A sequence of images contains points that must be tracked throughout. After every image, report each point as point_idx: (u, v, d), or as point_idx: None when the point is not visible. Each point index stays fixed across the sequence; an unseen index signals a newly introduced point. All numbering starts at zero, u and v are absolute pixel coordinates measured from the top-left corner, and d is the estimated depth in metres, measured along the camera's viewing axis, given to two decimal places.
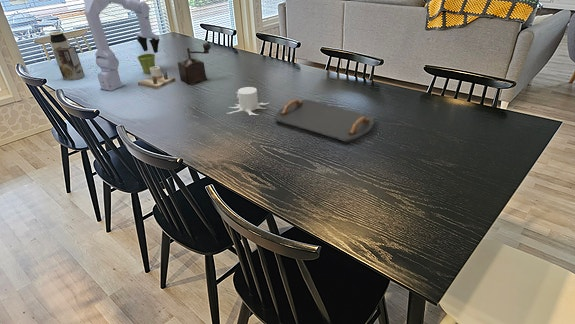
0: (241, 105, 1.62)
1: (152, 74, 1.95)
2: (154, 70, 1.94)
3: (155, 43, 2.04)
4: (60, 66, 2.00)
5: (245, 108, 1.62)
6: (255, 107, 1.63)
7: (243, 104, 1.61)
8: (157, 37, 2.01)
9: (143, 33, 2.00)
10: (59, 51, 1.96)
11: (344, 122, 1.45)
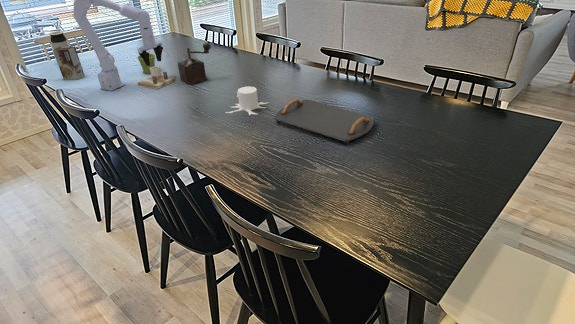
0: (241, 104, 1.63)
1: (152, 74, 1.95)
2: (154, 70, 1.94)
3: None
4: (60, 66, 2.00)
5: (245, 107, 1.63)
6: (255, 106, 1.64)
7: (243, 103, 1.62)
8: (139, 51, 1.84)
9: None
10: (59, 51, 1.96)
11: (344, 122, 1.45)
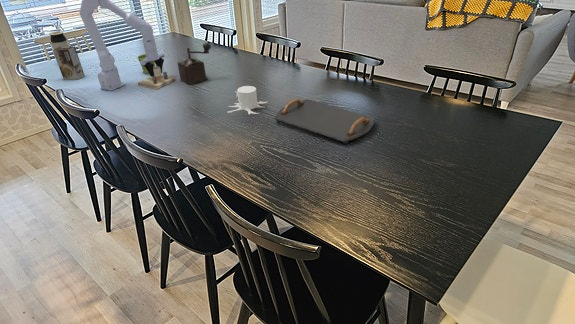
0: (240, 104, 1.63)
1: None
2: (154, 70, 1.94)
3: None
4: (60, 66, 2.00)
5: (244, 107, 1.63)
6: (254, 106, 1.64)
7: (242, 103, 1.62)
8: (142, 63, 1.87)
9: None
10: (59, 51, 1.96)
11: (344, 122, 1.45)
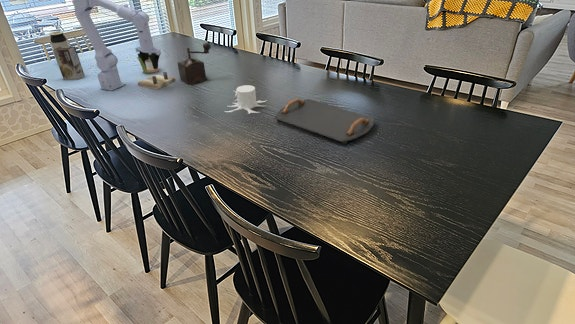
0: (240, 103, 1.64)
1: None
2: None
3: (155, 58, 1.82)
4: (60, 66, 2.00)
5: (244, 106, 1.64)
6: (254, 105, 1.65)
7: (242, 102, 1.63)
8: (159, 52, 1.79)
9: (143, 48, 1.78)
10: (59, 51, 1.96)
11: (343, 123, 1.44)
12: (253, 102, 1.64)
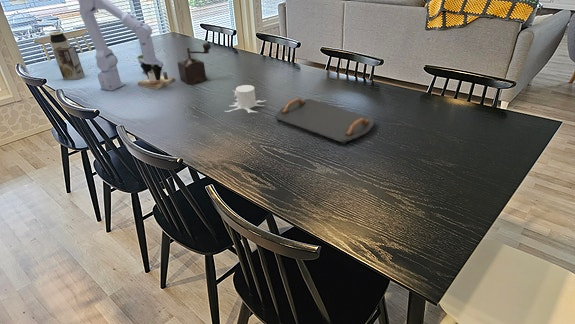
0: (239, 103, 1.64)
1: None
2: None
3: (157, 70, 1.85)
4: (60, 66, 2.00)
5: (243, 106, 1.64)
6: (253, 105, 1.66)
7: (241, 102, 1.63)
8: (161, 64, 1.82)
9: (146, 59, 1.81)
10: (59, 51, 1.96)
11: (343, 123, 1.44)
12: (252, 102, 1.65)
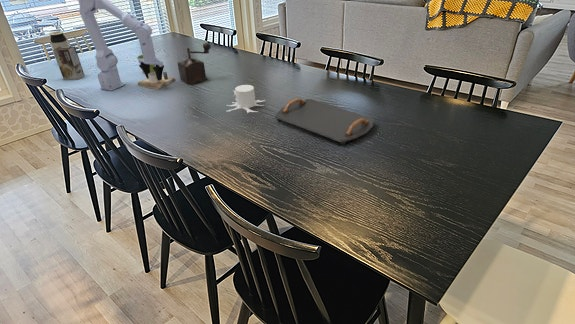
0: (239, 103, 1.65)
1: None
2: None
3: (159, 70, 1.85)
4: (60, 66, 2.00)
5: (243, 105, 1.64)
6: (252, 104, 1.66)
7: (241, 102, 1.64)
8: (161, 64, 1.82)
9: (146, 59, 1.81)
10: (59, 51, 1.96)
11: (343, 123, 1.44)
12: (252, 101, 1.65)
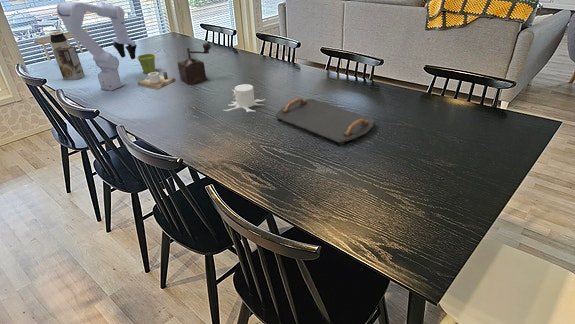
0: (238, 102, 1.65)
1: (158, 79, 1.88)
2: (158, 74, 1.88)
3: (132, 49, 1.94)
4: (60, 66, 2.00)
5: (242, 105, 1.65)
6: (252, 104, 1.66)
7: (240, 101, 1.64)
8: (133, 43, 1.91)
9: (119, 39, 1.90)
10: (59, 51, 1.96)
11: (342, 123, 1.44)
12: (251, 101, 1.65)
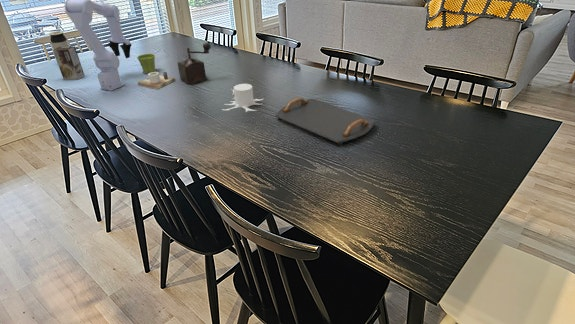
0: (237, 102, 1.66)
1: (158, 79, 1.88)
2: (158, 74, 1.88)
3: (127, 48, 1.96)
4: (60, 66, 2.00)
5: (241, 104, 1.65)
6: (251, 103, 1.67)
7: (239, 100, 1.65)
8: (128, 42, 1.93)
9: (114, 38, 1.92)
10: (59, 51, 1.96)
11: (342, 123, 1.44)
12: (250, 100, 1.66)
